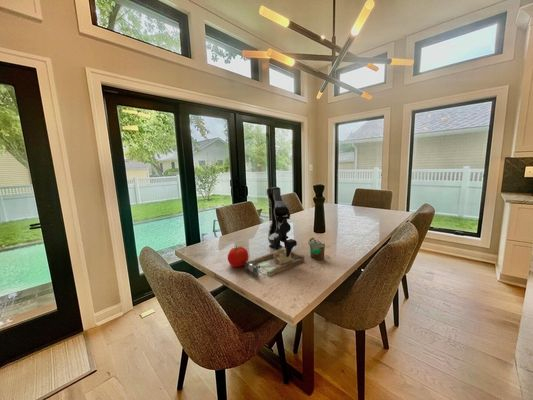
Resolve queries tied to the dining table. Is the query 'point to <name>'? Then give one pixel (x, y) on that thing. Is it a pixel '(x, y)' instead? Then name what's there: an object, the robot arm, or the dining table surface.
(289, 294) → the dining table surface
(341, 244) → the dining table surface
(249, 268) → the winch
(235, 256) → the tomato
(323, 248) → the food container
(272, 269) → the bay
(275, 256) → the box
